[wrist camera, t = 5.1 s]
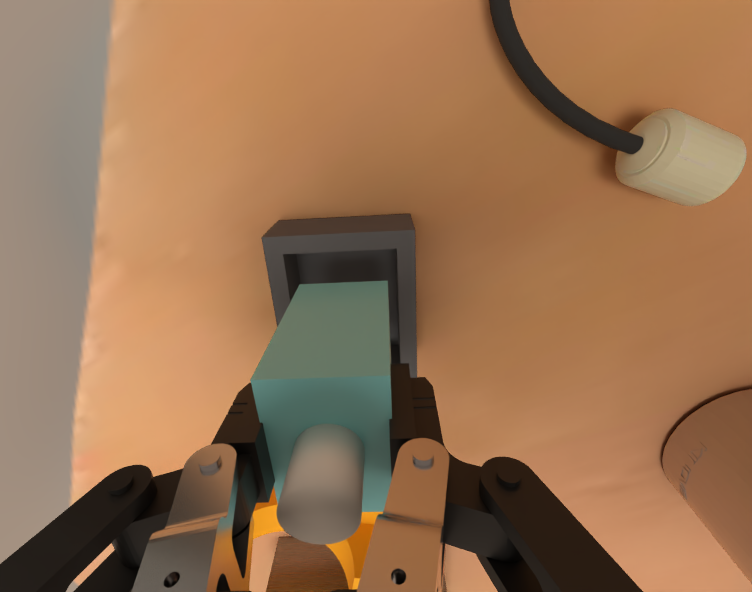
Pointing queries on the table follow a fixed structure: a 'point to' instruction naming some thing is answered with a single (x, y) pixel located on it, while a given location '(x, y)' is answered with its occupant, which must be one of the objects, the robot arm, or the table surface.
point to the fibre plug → (328, 408)
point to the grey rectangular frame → (349, 266)
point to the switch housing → (307, 568)
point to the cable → (638, 134)
